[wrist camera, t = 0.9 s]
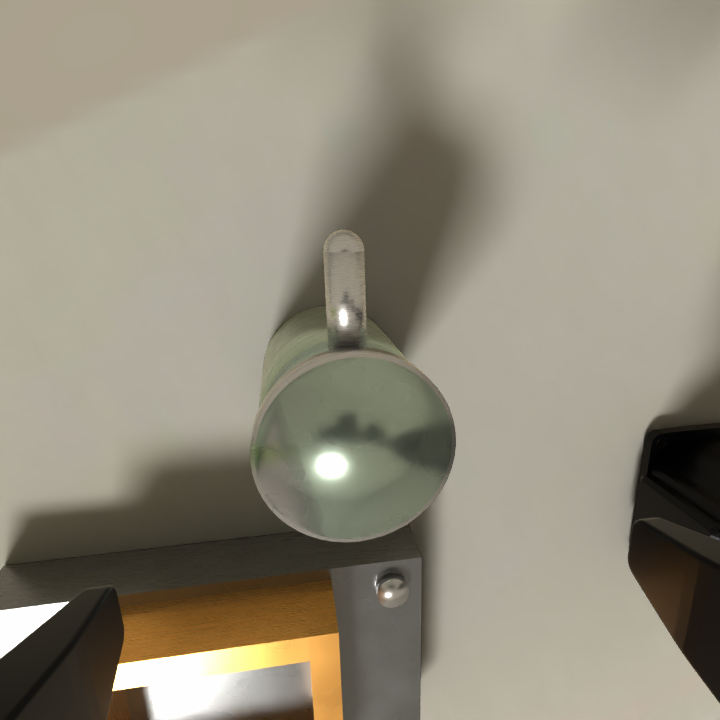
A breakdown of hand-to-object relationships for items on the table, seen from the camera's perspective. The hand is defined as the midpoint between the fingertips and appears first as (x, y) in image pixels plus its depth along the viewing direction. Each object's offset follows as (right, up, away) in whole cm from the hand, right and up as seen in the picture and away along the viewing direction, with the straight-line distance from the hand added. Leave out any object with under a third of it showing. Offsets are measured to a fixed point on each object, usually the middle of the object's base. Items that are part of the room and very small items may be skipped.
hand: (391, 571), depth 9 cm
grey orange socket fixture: (-6, -9, +13) cm, 17 cm away
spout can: (-2, +5, +10) cm, 11 cm away
